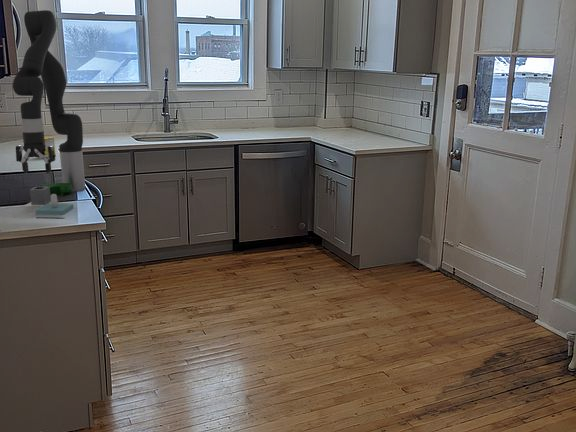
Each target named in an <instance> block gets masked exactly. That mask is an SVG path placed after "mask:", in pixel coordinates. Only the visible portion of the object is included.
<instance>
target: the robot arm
mask: <svg viewBox="0 0 576 432" xmlns="http://www.w3.org/2000/svg"><path fill="white" fill-rule="evenodd" d="M23 19H24V26H25V29H26V32H27V35H28V39H29V40H30V43H31V44H30V46H29V47H28V48H27V50H26V51H25V54H24V57H23V61H22V65H21V67H20V68H19V70H18V72H17V74H16V75H15V76H14V78H13V81H12V89H13V92H14V94H15V95H18V96H19V97H20V96H22V97H25V96H26V97H28V96H32V99H31V100H30V101H25V102H22V103H21V104H20V114H21V115H20V117H21V132H22V142H23V145H21V144H18V145H15V158H16V159H15V160H16V162H20V163H21V165H22V166H21V168H22V172H24V173H25V174H27V173H29V163H28V161H29V159H30V158H40V159H41V160H42V161H43V162H44V165H45V166H44V167H45V173H46V174H49V173H51V171H52V164H51V163H53V162H55V161H56V156H55V154H56V152H55V153H54V147H53V146H45V139H44V137H45V131H44V123H43V117H42V100H43V95H44V94H43V93H44V91H45V94H46V99H47V102H48V107H49V114H50V119H51V124H52V127H53V130H54V132H55V133H57V134H58V135H62V136H63V135H64V136H66V140H65V142H63V143H60V144H59V147H58V148H59V158H60V169H61V177H62V178H61V179H62V183H71V187H72V192H81V191H84V190H86V180H85V179H86V178H85V177H86V176H85V168H84V158H83V157H84V156H83V143H84V137H83V134H84V133H83V132H84V131H83V129H84V128H83V121H82V118H81V117H80V115H78V114H76V113H70V112H69V113H66V112H65V108H64V104H63V98H64V94H65V91H66V87H67V78H66V73H65V69H64V66H63V65H62V63H61V61H60V60H58V59H57V57H56V56H55V55H54V54H53V53H52V52H51V51H50V50H49V48H50V46H51V44H52V42H53V38H54V36H55V35H56V32H57V27H58V22H57V21H58V20H57V18H56V15H55V14H54V12H52V11H51V10H48V9H47V10H46V9H45V10H44V9H42V10H33V11H32V10H31V11H27V12H25V13H24V17H23ZM40 77H41V78H40ZM45 150H47V152H48V153H49V157H48V155H47V154H46V153H45ZM23 151H24V152H25V153H24V155H23Z"/></svg>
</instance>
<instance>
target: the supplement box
mask: <svg viewBox="0 0 576 432" xmlns="http://www.w3.org/2000/svg"><path fill="white" fill-rule="evenodd" d="M44 139H45V146H53V147H54V153H55V157H57V156H56V155H57V154H56V147H55V138H54V137H52V136H44ZM45 153H46V154H47V155H48V158H49V153H48V152H47V150H45Z"/></svg>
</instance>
